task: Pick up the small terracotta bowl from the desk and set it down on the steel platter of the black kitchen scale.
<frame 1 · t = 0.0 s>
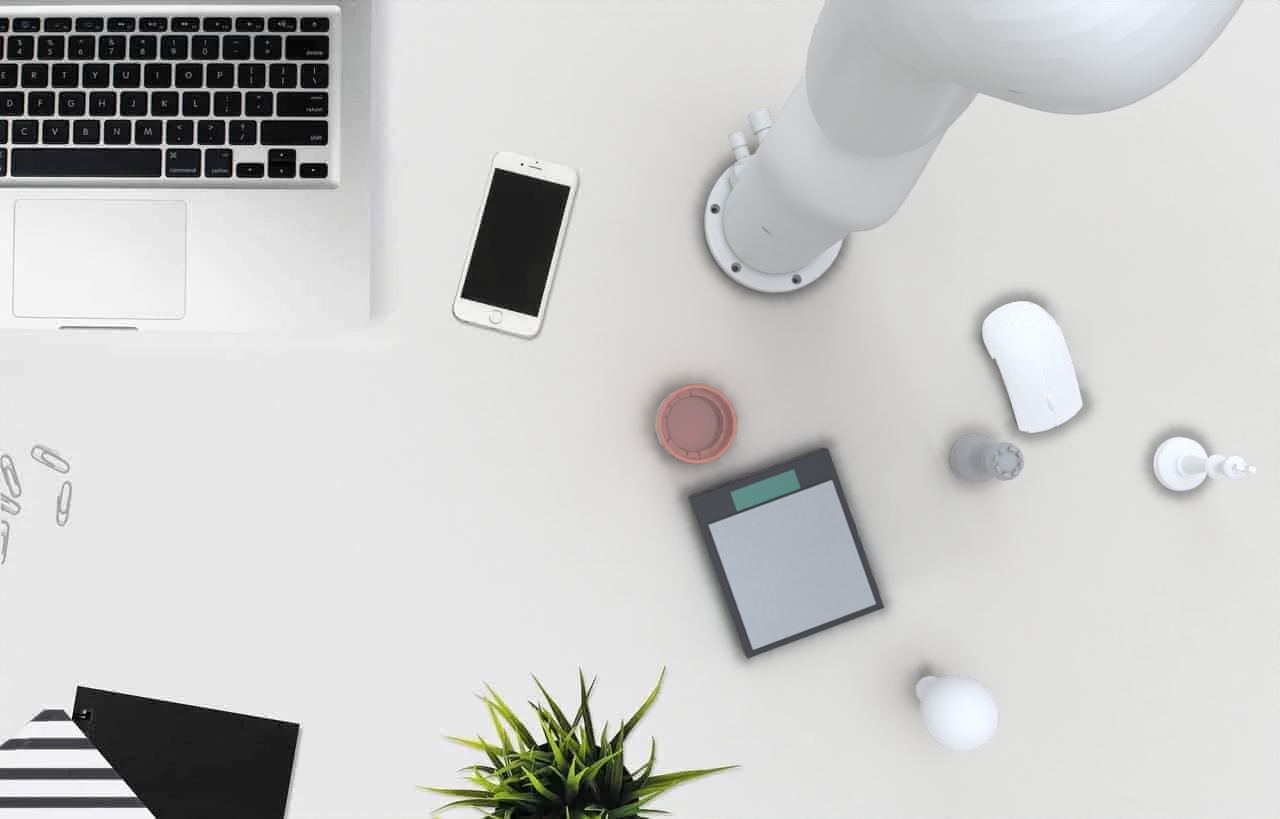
lightbulb: (925, 687, 90), on the table
computer mouse: (1030, 366, 91), on the table
rook chess piece: (971, 458, 91), on the table
scale: (784, 550, 89), on the table
bowl: (691, 424, 89), on the table
chess piece: (1177, 463, 92), on the table
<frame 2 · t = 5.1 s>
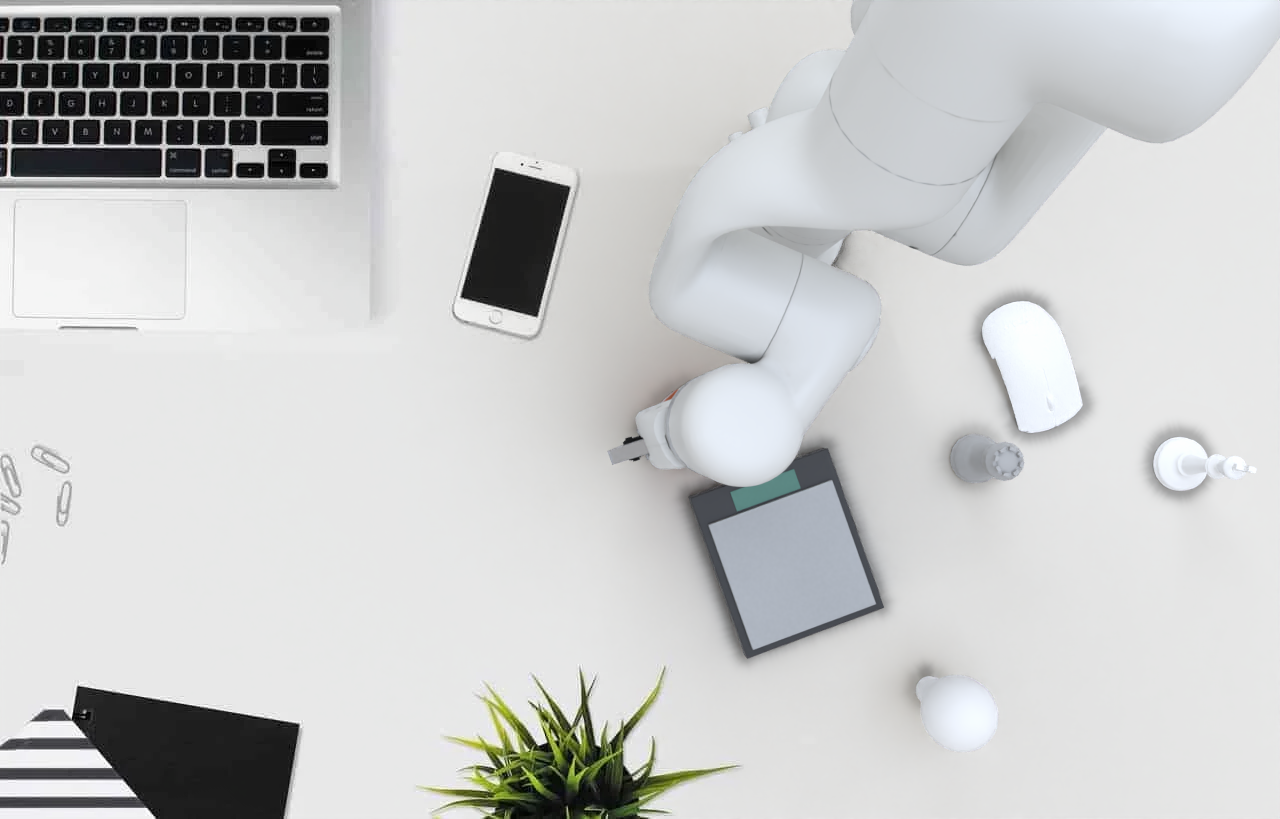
hand: (692, 424, 88), 1 cm above the table, tool pointing down, fingers closed on bowl, 6 cm apart
bowl: (691, 424, 89), on the table, touching gripper
everything else where it was.
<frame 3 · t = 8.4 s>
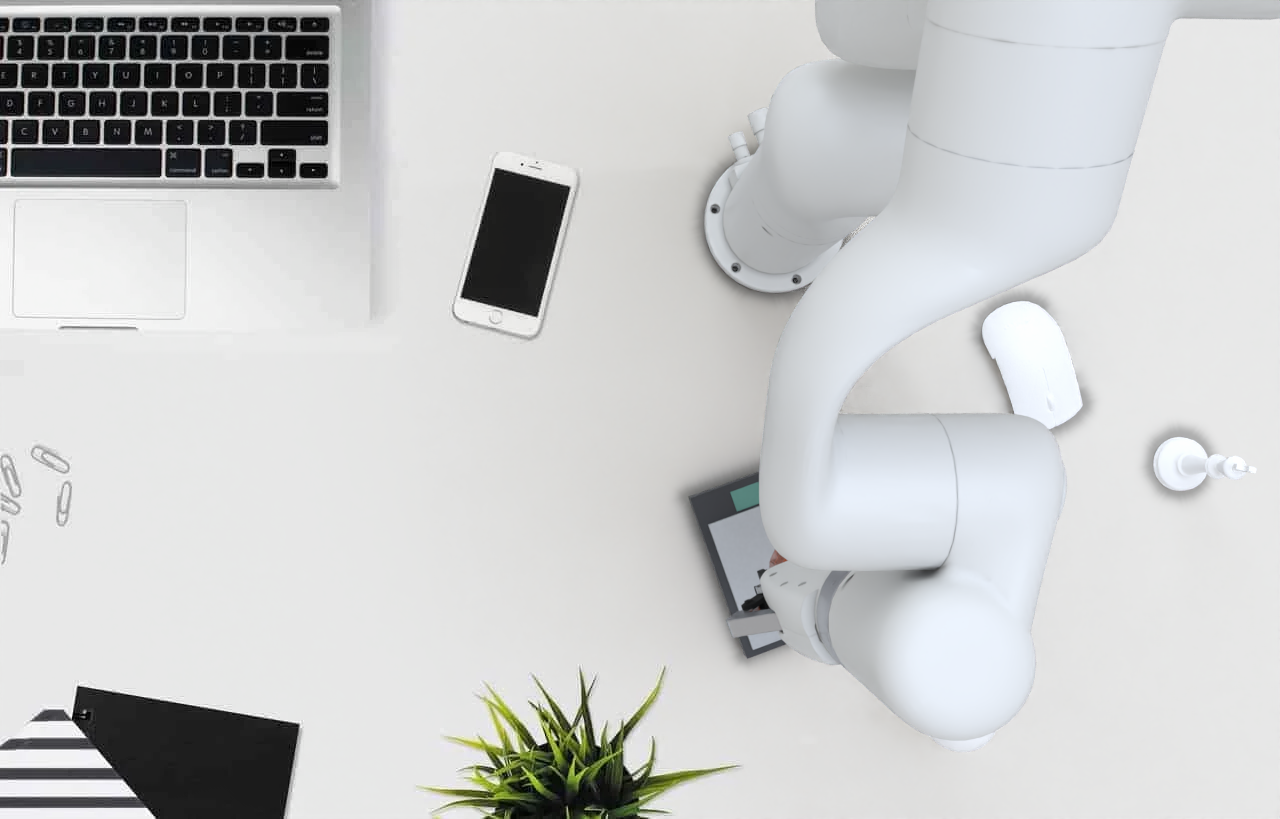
hand: (814, 572, 74), 15 cm above the table, tool pointing down, fingers closed on bowl, 6 cm apart
bowl: (812, 570, 75), point 14 cm above the table, touching gripper
everything else where it was.
when the fingers open (3 cm above the table, at t = 11.7 s): bowl stays where it is, resting on scale.
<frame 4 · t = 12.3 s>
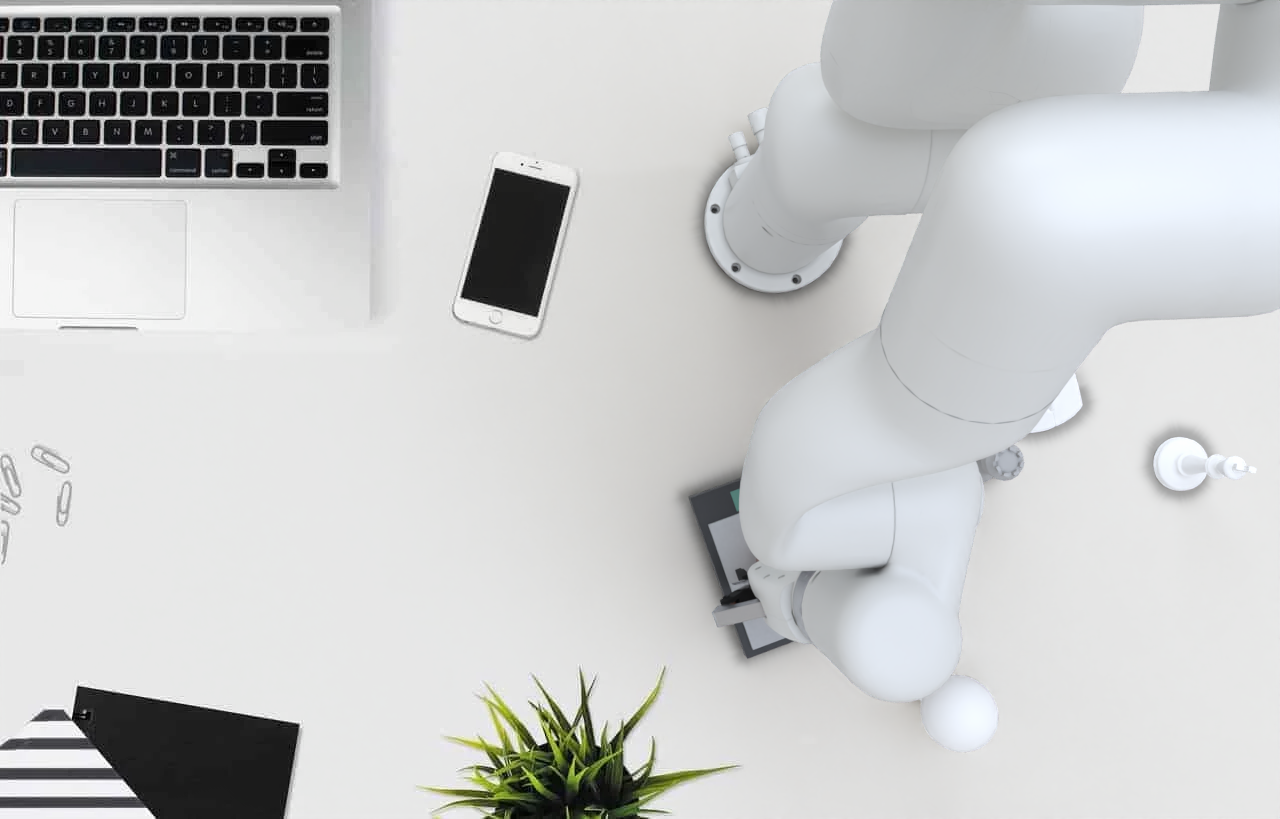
hand: (796, 566, 86), 4 cm above the table, tool pointing down, fingers open, 9 cm apart
bowl: (792, 566, 87), point 2 cm above the table, touching scale
everything else where it was.
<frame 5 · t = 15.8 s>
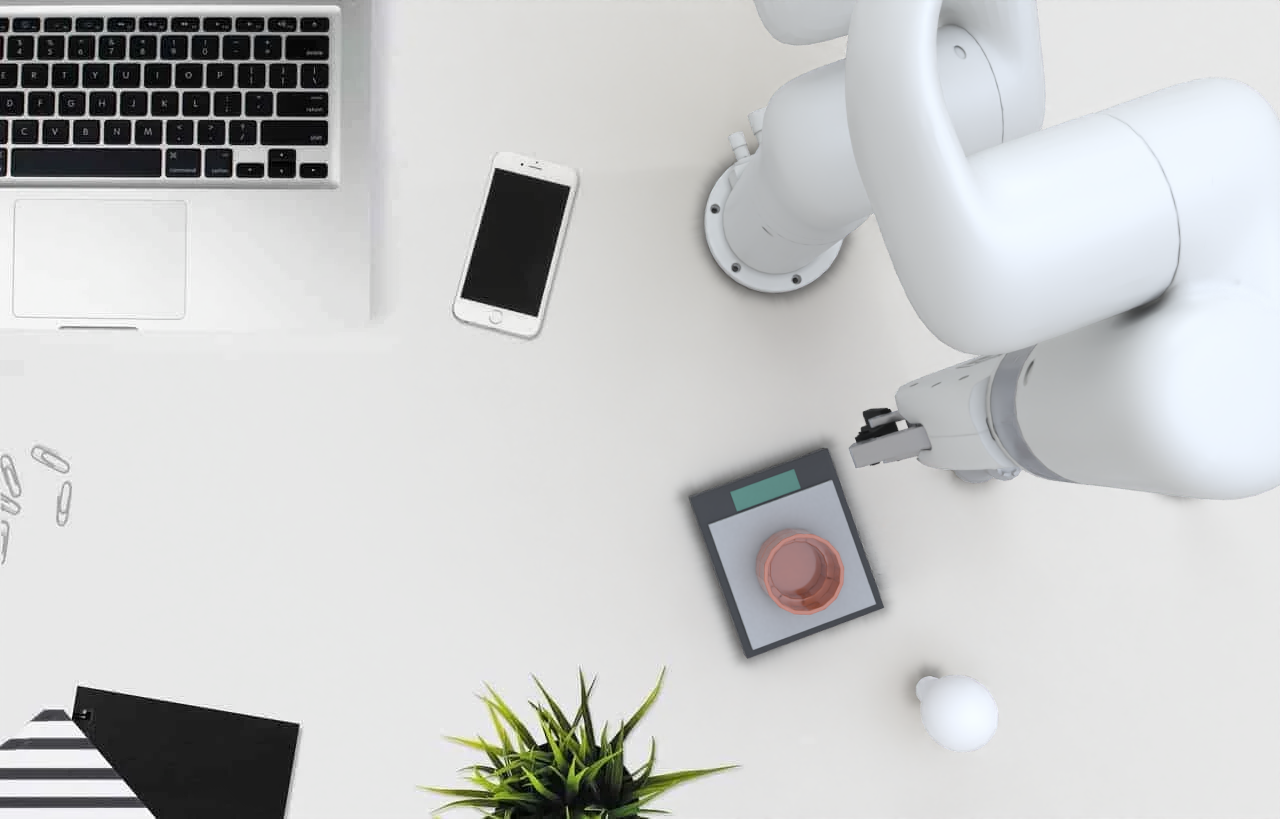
hand: (944, 407, 64), 26 cm above the table, tool pointing down, fingers open, 9 cm apart
nothing on the table moved.
at the end: bowl inside the target area on the scale (0.1 cm from its centre), point 2.1 cm above the scale's base; bowl tilted 0°; the gripper is holding nothing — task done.
